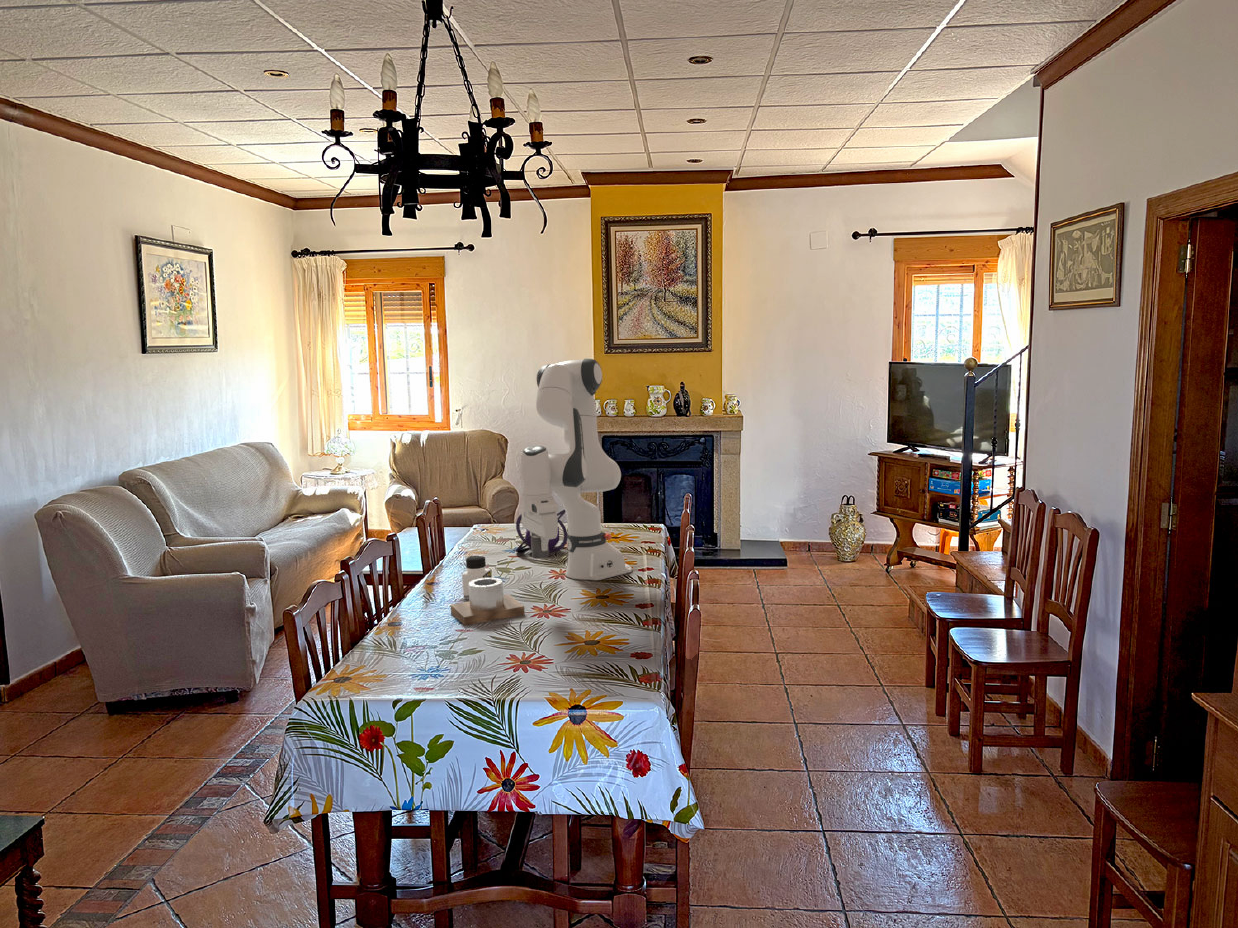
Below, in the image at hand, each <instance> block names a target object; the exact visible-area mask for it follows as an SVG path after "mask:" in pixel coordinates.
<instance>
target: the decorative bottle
mask: <svg viewBox="0 0 1238 928" xmlns="http://www.w3.org/2000/svg"><path fill="white" fill-rule="evenodd" d="M565 514H566V511H565V509H562V510H561V511H558V513H557V518H558V525H559V526H561V528H562V529H561V530H562V532H563V539H562V542H560V545H558V546H556V545H557V544H558V543H559V541H560V527H559V526H558V534H557V537H556V538H555V539H549V542H548V548H549V554H550V553H553V554H554V553H556V552H559V551H561V550H562V549H563V548H564V547H565V546H567V534H568V529H566V526H565V525H564V523H563V522H562V521H561V520H560V519H561V518H562V517H563V516H564V515H565ZM521 523H522V513H521V514H519V516H518V517H517V519H516V522H515V529H516V532H517V535H518V536H519V539H520V540H521V541H522V542H521V543H520V544H519V546H518V547H517V548H516V549H515V552H516V553H517V552H520V551H522V550H524V549H526V548H527V547H528V548H529V549H531V535H530V531H529V530H527V529H526V532H525V535H524V534H522V531H521V528H520V526H521ZM523 535H524V536H523Z"/></svg>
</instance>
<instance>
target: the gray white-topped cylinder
mask: <svg viewBox="0 0 1238 928" xmlns="http://www.w3.org/2000/svg"><path fill="white" fill-rule="evenodd" d="M540 544H541V537H540V536H538V535H532V536H531V548H530V549H531V557H532V558H534V559H545V558H548V557H549V556H550V553H549V548H548V550H547V551H542V550H541V549H540Z"/></svg>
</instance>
